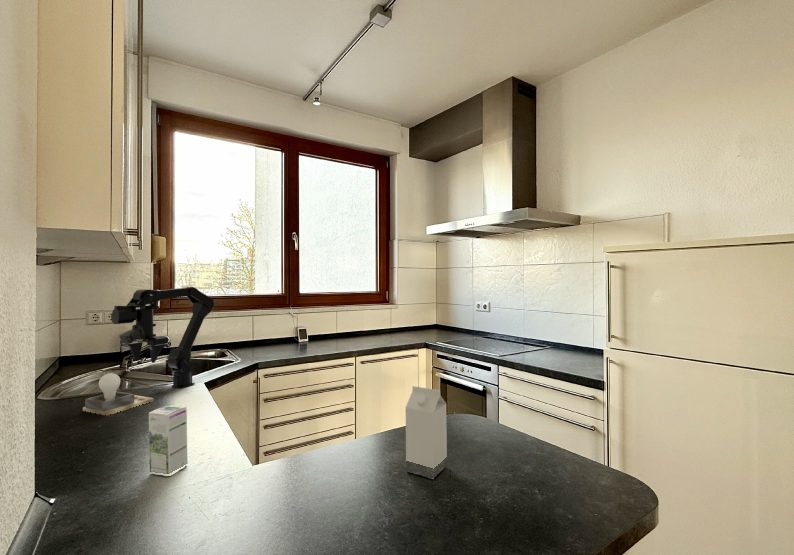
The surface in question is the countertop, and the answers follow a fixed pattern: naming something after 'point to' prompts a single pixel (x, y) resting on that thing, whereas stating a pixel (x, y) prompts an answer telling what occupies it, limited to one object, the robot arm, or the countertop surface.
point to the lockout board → (114, 403)
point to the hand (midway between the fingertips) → (144, 361)
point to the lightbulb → (109, 385)
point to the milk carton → (426, 427)
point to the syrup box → (168, 439)
